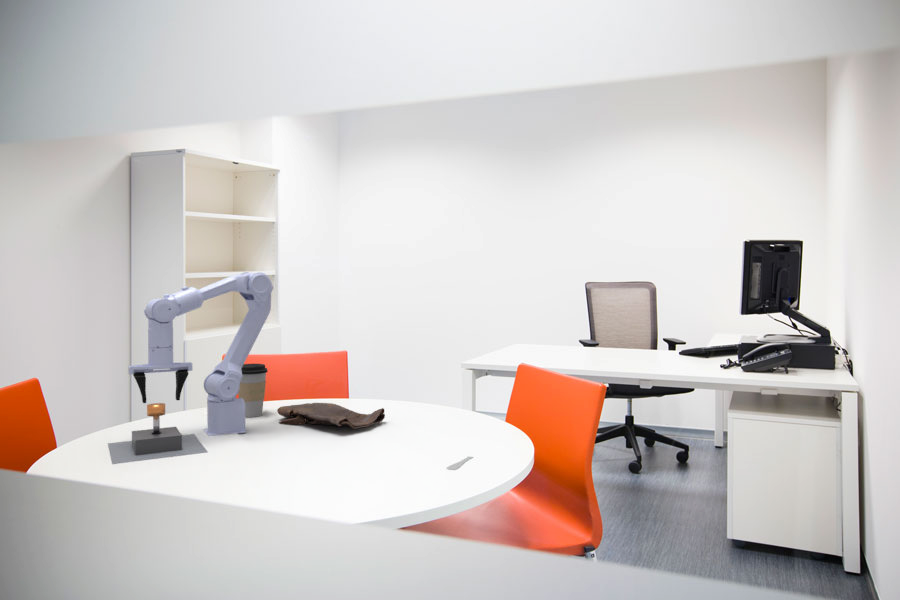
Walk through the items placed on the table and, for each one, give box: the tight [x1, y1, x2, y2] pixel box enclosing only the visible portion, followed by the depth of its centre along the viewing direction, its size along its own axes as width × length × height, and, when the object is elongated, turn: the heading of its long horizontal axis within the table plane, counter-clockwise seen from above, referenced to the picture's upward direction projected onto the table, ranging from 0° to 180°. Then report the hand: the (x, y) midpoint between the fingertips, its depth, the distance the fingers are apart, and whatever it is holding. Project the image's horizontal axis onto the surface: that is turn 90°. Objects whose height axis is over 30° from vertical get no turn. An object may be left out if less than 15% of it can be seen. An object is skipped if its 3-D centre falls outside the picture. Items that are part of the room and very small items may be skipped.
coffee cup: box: [237, 363, 268, 418], centre depth 196 cm, size 9×9×15 cm
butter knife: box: [446, 456, 474, 471], centre depth 153 cm, size 1×24×3 cm
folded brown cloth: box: [276, 402, 386, 430], centre depth 187 cm, size 32×20×5 cm, turn 52°
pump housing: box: [131, 426, 183, 455], centre depth 157 cm, size 10×10×4 cm
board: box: [107, 433, 208, 465], centre depth 157 cm, size 20×20×1 cm
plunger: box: [146, 402, 166, 434], centre depth 157 cm, size 4×4×7 cm
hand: (161, 401), depth 164 cm, fingers open, 7 cm apart
